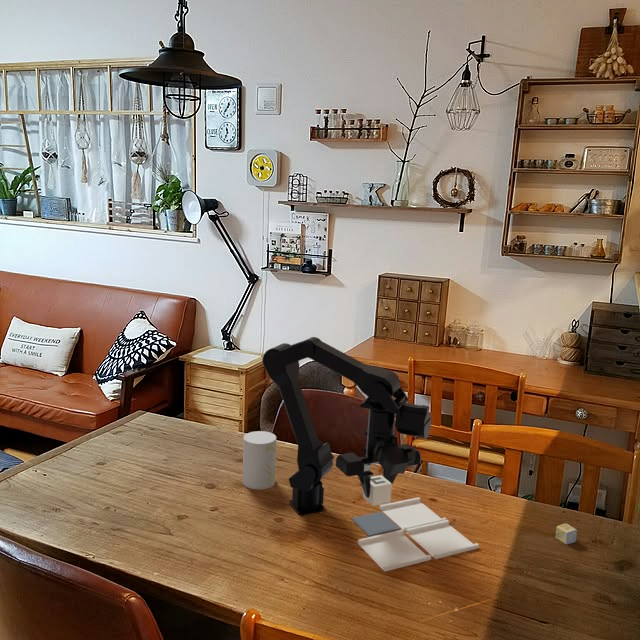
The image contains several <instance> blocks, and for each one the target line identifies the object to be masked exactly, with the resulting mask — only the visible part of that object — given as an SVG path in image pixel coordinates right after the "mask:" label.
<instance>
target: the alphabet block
mask: <svg viewBox="0 0 640 640" xmlns="http://www.w3.org/2000/svg"><path fill="white" fill-rule="evenodd" d="M577 534H578V530H577V529H576V528H575V527H574V526H573V527H572V526H571V525H569V524H568V523H562V524H560V525H557V526H556V529H555V539H557V540H559V541H560V542H561V543H563V544H565V545H566V546H567V545H570V544H572V543H576V542H577Z"/></svg>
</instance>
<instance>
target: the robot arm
mask: <svg viewBox="0 0 640 640" xmlns="http://www.w3.org/2000/svg"><path fill="white" fill-rule="evenodd" d="M308 358H309V359H310V360H313V361H314V362H316V363H318V364H320V365H322V366H323V367H325V368H326V369H329V370H330V371H333V372H334V373H336V374H338V375H339V376H342V377H344V378H345V379H347V380H349V381H351V382H352V383H354V384H355V385H356V386H357V387H358V389H359V390H360V391H361V393H362V394H364V395H365V396H367V397H366V399H365V400H364V401H362V402H361V403H359V408H362V409H368V421H367V422H368V423H367V429H364V436H366V437H367V439H366V446H365V447H363V453H364V454H365V456H358V455H357V454H356V453H354V452H352V451H351V452H346V453H340V454H338V455H337V457H336V458H335V456H334V455H333V453H332V451H331V445H330V442H325V443H323V442H322V440H320V439H319V437H318V435H317V431H316V429H315V426H314V423H313V421H312V420H313V419H312V417H311V414H310V411H309V408H308V404H307V401H306V398H305V395H304V393H303V390H302V386H301V384H300V380H299V379H300V378H299V375H300V361H302V360H304V359H305V360H306V359H308ZM261 360H262V365H263V367H264V369H265V371H266V373H267V375H268V377H269V379H270V380H271V381H272V382H273V383H274V384H275V385H276V386H277V387H278V389H279V393H280V395H281V398H282V401H283V404H284V407H285V411H286V414H287V417H288V419H289V423H290V425H291V429H292V430H293V434H294V438H295V441H296V444H297V457H296V462H297V468H298V470H297V471H296V472H295V473H293V474H292V475H291V476H290V477H289V478H288V482H289V485H290V488H292V494H291V495H292V498H291V499H290V500H289V502H288V503H289V505H290V506H291V508H293V509H294V511H296V512H297V514H298V515H301V516H302V515H306V514H307V515H308V514H311V513H315V512H316V513H317V512H321V511H324V510H325V508H326V507H325V506H324V505H323V504H324V495H325V494H324V492H325V488H324V486H323V482H322V481H321V480H323V478H324V477H325V476H326V475H327V474H328V473H329V472H330V471H331V470H332V468H333V465H334V460H333V459H335V467H336V468H337V469H339V470H340V472H342V474H344V475H345V476H347V477H354V476H357V477H358V480H359V483H360V485H361V489H362V492H363V491H364V494H365V496H366V497H367V498H369V495H370V481H371V477H373V476H375V473H373V472H372V471H371V465H372V466H373V465H377V464H379V465H380V466H381V468H382V472H383V474H382V476H383V477H384V478H386V479H387V480H388V481H389V482H390V483H392V485H393V484H394V482H395V479H396V478H397V476H398V474H405V473H406V471H407V469H408V467H413V466H417V465H421V462H422V455H421V452H420V451H419V450H418V449H417V448H415V447H413V446H412V445H410V444H409V443H403V444H399V442H398V436H397V435H395V429H396V432H398V433H399V434H401V435H405V436H410V437H416V438H420V439H427V438H428V436H429V434H430V431H431V426H432V417H431V412H430V406H428V405H426V404H425V405H424V404H422V405H421V404H413V403H408V402H410V399H409V397H408V396H407V394H406V392H405V390H404V389H403V388H402V386H401V381H400V380H401V379H400V377H399V376H398V374H397V373H396V372H394V371H392V370H390V369H386V368H384V367H381V366H376V365H369V364H365V363H363V362H361V361H359V360H358V359H356V358H354V357H352V356H350V355H348V354H346V353H345V352H343V351H341V350H339V349H337V348H335V347H333V346H332V345H329V344H328V343H326V342H324V341H322V340H321V339H320V338H319V337H316V336H311V337H308V338H307V339H305V340H301V341H299V342H297V343H293V344H289V343H287V342H286V343H285V342H284V343H281V344H278V345H276V346H274V347H272V348H270V349H267V350H266V351H265V352H264V354H263V356H262V359H261Z"/></svg>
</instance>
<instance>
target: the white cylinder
mask: <svg viewBox="0 0 640 640" xmlns="http://www.w3.org/2000/svg"><path fill="white" fill-rule="evenodd" d="M242 438H243V443H242V444H243V445H242V448H243V449H242V451H243V452H242V484H243V486H245V487H246V488H247V489H250V490H251V489H252V490H267V489H270V488H272V487H273V486H274V485H275V484H276V468H277V467H276V465H277V464H276V463H277V462H276V461H277V457H276V456H277V436H276V435H275V434H274V433H272V432H269V431H264V430H263V431H262V430H257V431H256V430H255V431H250V432H248V433H245V434H244V435H243V437H242Z"/></svg>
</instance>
